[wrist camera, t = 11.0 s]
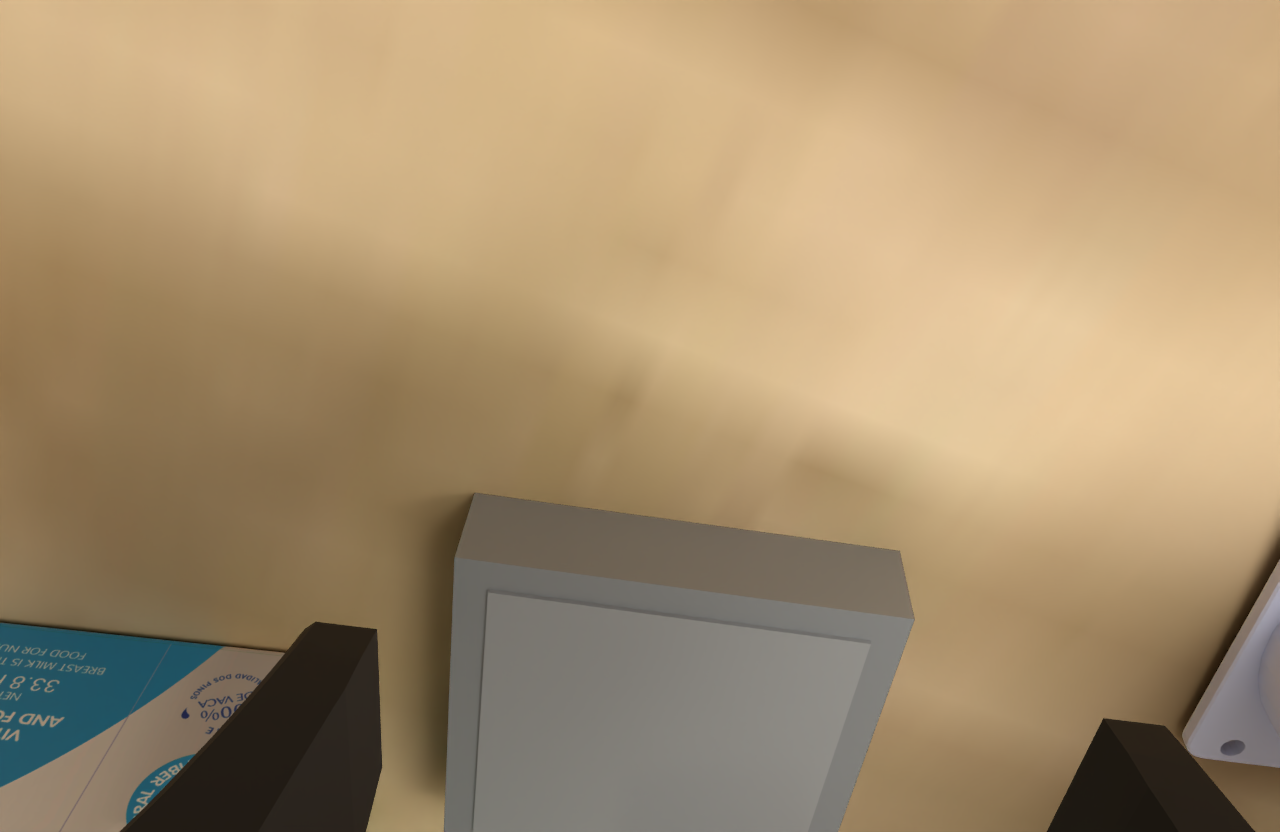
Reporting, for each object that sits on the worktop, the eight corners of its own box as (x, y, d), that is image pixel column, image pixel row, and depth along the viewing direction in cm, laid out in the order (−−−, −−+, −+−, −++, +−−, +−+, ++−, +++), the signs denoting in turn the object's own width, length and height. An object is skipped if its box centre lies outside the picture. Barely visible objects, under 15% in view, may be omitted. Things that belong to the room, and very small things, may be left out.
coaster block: (896, 537, 23) (915, 623, 21) (809, 803, 28) (816, 895, 26) (478, 480, 23) (453, 560, 21) (464, 758, 28) (442, 846, 26)
